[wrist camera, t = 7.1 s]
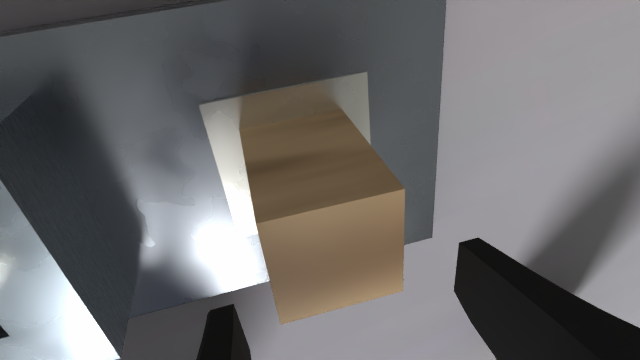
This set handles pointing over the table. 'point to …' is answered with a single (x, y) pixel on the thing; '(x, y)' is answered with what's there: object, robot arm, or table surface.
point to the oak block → (324, 214)
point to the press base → (184, 149)
